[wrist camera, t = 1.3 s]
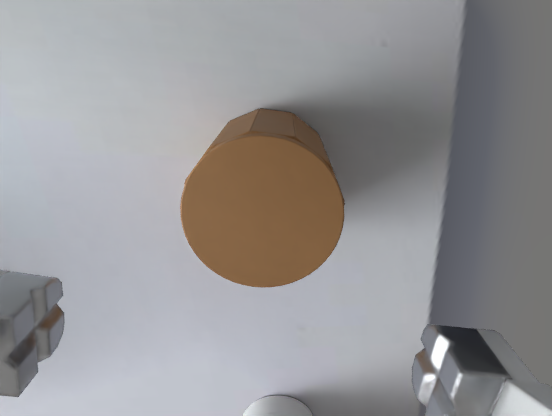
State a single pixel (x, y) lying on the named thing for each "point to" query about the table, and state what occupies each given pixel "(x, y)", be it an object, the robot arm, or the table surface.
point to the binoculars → (277, 407)
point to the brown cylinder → (263, 201)
